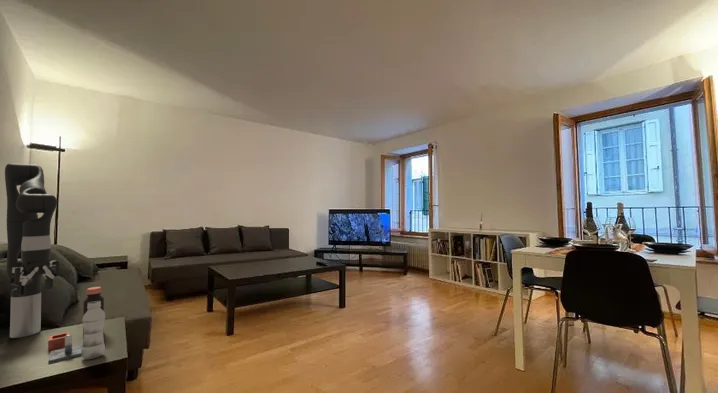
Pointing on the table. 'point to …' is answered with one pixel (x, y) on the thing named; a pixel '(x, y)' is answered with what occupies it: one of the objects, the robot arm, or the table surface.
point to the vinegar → (93, 299)
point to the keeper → (66, 351)
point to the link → (57, 341)
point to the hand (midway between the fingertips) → (35, 292)
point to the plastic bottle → (93, 331)
